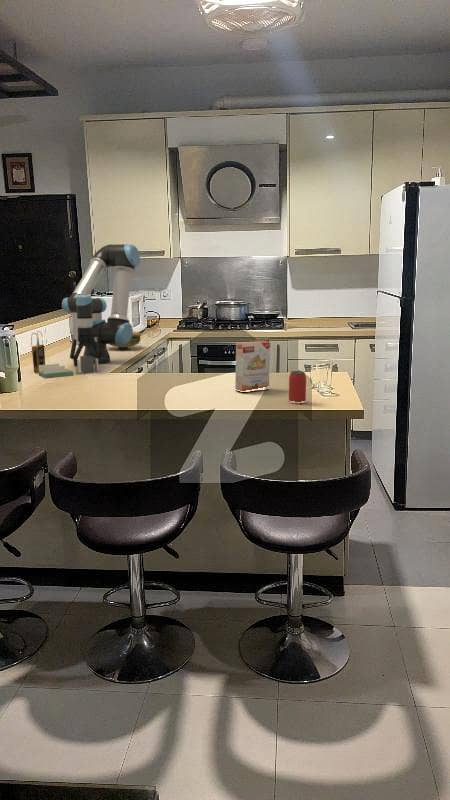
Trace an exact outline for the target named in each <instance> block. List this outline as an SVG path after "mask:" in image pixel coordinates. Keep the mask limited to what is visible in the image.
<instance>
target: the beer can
mask: <svg viewBox="0 0 450 800" xmlns="http://www.w3.org/2000/svg"><path fill="white" fill-rule="evenodd" d="M288 378H289V379H288V401H289V400H290V401H295V402H301V401H305V400H307V398H306V397H307V395H306V394H307V391H306V390H307V376H306V372H305V371H302V370H292V371H290V373H289V377H288Z"/></svg>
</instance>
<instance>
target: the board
mask: <svg viewBox="0 0 450 800" xmlns="http://www.w3.org/2000/svg"><path fill="white" fill-rule="evenodd" d="M38 373H39V374H38V376H39V377H42V378H43V379H50V378H53V379H54V378H59V377H70V376H71V377H72V376H74V371H73V370H70V369H68V368H65V365H60V363H54V364H53V363H52V364H45V365H39V372H38Z"/></svg>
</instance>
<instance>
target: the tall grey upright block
mask: <svg viewBox="0 0 450 800" xmlns="http://www.w3.org/2000/svg"><path fill="white" fill-rule="evenodd" d="M102 313H103V312H102ZM102 313H95V314H92V316H93V321H95V320H103V316H102V315H103V314H102ZM71 314H72V330H73V331H72V332H73V339H77V338H78V326H77V313H71ZM76 345H79V341H77V343H76Z"/></svg>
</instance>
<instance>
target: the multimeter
mask: <svg viewBox="0 0 450 800" xmlns="http://www.w3.org/2000/svg"><path fill="white" fill-rule="evenodd" d="M38 333H40V334H41V336H43V333H42V331H39V330H38V331H37V332H32V333H31V339H30V340H31V341H30V343H31V354H32V363H33V372H34V373H36V374H37V375H39V365H46V355H45V345H44V344H43V343H44V342H43V341H41V344H40V340H39V338H37V339H36V345H33V341H32V340H33V334H34V335H36V336H39V334H38Z"/></svg>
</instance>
